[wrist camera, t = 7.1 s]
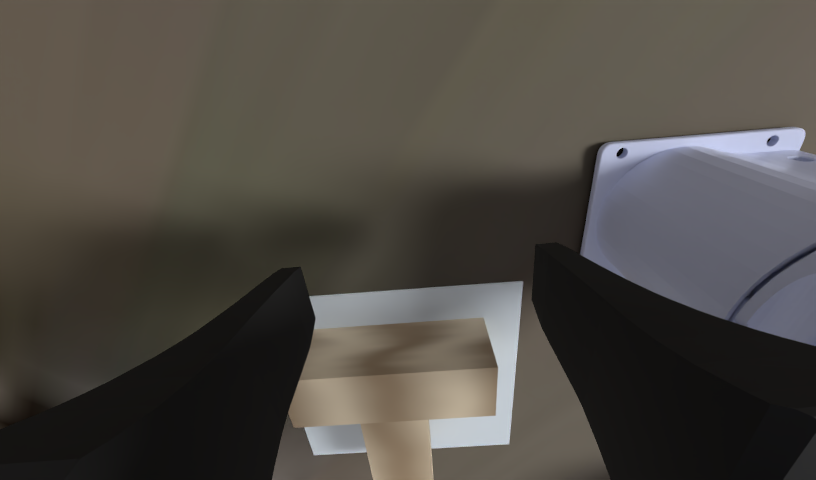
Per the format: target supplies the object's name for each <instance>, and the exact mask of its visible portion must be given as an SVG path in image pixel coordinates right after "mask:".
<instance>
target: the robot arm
mask: <svg viewBox="0 0 816 480" xmlns="http://www.w3.org/2000/svg"><path fill="white" fill-rule="evenodd" d="M770 137H771V139H770V141H769V142H768V143H767V140H768V139H769V138H770ZM804 138H805V130H803V129H802V128H797V127H784V128H772V129H760V130H748V131H736V132H724V133H712V134H700V135H688V136H676V137H664V138H652V139H640V140H628V141H616V142H608V143H605V144H604V145H602V146H601V147H600V148H599V150H598V153H597V159H596V164H595V170H594V176H593V182H592V188H591V194H590V199H589V205H588V211H587V217H586V223H585V229H584V234H583V240H582V246H581V252H580V254H578V253H576V252H574V251H573V250H571V249H569V248H567V247H565V246H563V245H561V244H559V243H546V244H536V246H535V260H534V274H533V288H532V302H533V304H534V307H535V310H536V313H537V316H538V319H539V321H540V324H541V327H542V329H543V331H544V333H545V335H546V337H547V339H548V341H549V343H550V345H551V347H552V348H553V350H554V352H555V354H556V356H557V358H558V360H559V362H560V364H561V366H562V367H563V369H564V371H565V373H566V375H567V377H568V379H569V381H570V383H571V385H572V386H573V388H574V390H575V392H576V394H577V396H578V398H579V401H580V403H581V405H582V407H583V409H584V412H585V414H586V417H587V419H588V422H589V424H590V427H591V429H592V432H593V434H594V437H595V439H596V442H597V444H598V447H599V449H600V452H601V455H602V457H603V460H604V463H605V465H606V468H607V470H608V473H609V476H610V478H611V480H816V155H814V154H810V153H806V152H802V151H799V150H800V147H801V145H802V143H803V141H804ZM621 148H623V152H622V154H621V155H620V156H616V154H617V151H618V150H619V149H621ZM315 319H316V317H315V314H314V311H313V307H312V304H311V301H310V297H309V294H308V290H307V287H306V284H305V280H304V277H303V274H302V270H301V267H293V268H282V269H280V270H278V271H277V272H275V273H274V274H272V275H271V276H270V277H268V278H267V279H266V280H264V281H263V282H262V283H260V284H259V285H258V286H257V287H255V288H254V289H253V290H252V291H250V292H249V293H248V294H246V295H245V296H244V297H242V298H241V299H240V300H239V301H237V302H236V303H235V304H233V305H232V306H231V307H230V308H228V309H227V310H225V311H224V312H223V313H221V314H220V315H218V316H217V317H216V318H214V319H213V320H211V321H210V322H209V323H207V324H206V325H205V326H203V327H202V328H200V329H199V330H197V331H196V332H194V333H193V334H191V335H190V336H188V337H187V338H185V339H184V340H182V341H180V342H179V343H177V344H176V345H174V346H172V347H171V348H169V349H167V350H166V351H164V352H162V353H161V354H159V355H157V356H156V357H154V358H152V359H150V360H148V361H146V362H145V363H143V364H141V365H139V366H137V367H135V368H133V369H132V370H130V371H128V372H126V373H124V374H122V375H120V376H119V377H117V378H115V379H113V380H111V381H109V382H107V383H105V384H103V385H101V386H99V387H97V388H95V389H93V390H90V391H88V392H86V393H84V394H82V395H80V396H78V397H75V398H73V399H71V400H69V401H67V402H65V403H62V404H60V405H58V406H56V407H53V408H51V409H49V410H47V411H44V412H42V413H40V414H37V415H35V416H32V417H30V418H27V419H25V420H22V421H20V422H17V423H15V424H13V425H10V426H8V427H5V428H3V429H0V480H272V476H273V471H274V466H275V462H276V457H277V453H278V449H279V444H280V440H281V436H282V431H283V428H284V424H285V421H286V418H287V414H288V411H289V408H290V405H291V403H292V400H293V397H294V394H295V391H296V388H297V385H298V382H299V379H300V376H301V374H302V371H303V368H304V365H305V362H306V359H307V356H308V353H309V349H310V346H311V341H312V336H313V331H314V325H315Z"/></svg>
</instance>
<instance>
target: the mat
mask: <svg viewBox="0 0 816 480" xmlns="http://www.w3.org/2000/svg"><path fill="white" fill-rule="evenodd" d="M522 289H523V281H513V282H499V283H485V284H471V285H457V286H443V287H429V288H415V289H401V290H387V291H373V292H359V293H345V294H331V295H318V296H309V297H310V301H311V304H312V307H313V311H314V314H315V317H316V319H315V325H314V329H325V328H340V327H354V326H368V325H383V324H397V323H411V322H426V321H440V320H454V319H469V318H484V321H485V324H486V328H487V331H488V335H489V338H490V341H491V345H492V348H493V352H494V355H495V358H496V362H497V365H498V379H497V399H496V416H482V417H466V418H449V419H433V420H429V426H430V437H431V448H449V447H466V446H484V445H501V444H509V440H510V428H511V417H512V405H513V394H514V382H515V370H516V359H517V347H518V336H519V324H520V313H521V301H522ZM304 428H305V431H306V434H307V437H308V440H309V442H310V445H311V448H312V451H313V454H314V455H326V454H343V453H361V452H367V450H366V446H365V442H364V437H363V433H362V429H361V425H360V424H350V425H334V426H317V427H304Z"/></svg>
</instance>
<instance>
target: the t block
mask: <svg viewBox="0 0 816 480" xmlns="http://www.w3.org/2000/svg"><path fill="white" fill-rule="evenodd" d="M497 379H498V365H497V362H496V358H495V355H494V352H493V348H492V345H491V341H490V338H489V335H488V331H487V328H486V324H485V321H484V318H469V319H454V320H440V321H426V322H411V323H397V324H383V325H368V326H354V327H340V328H325V329H314V331H313V336H312V341H311V346H310V349H309V353H308V356H307V359H306V362H305V365H304V368H303V371H302V374H301V376H300V379H299V382H298V385H297V388H296V391H295V394H294V397H293V400H292V403H291V405H290V408H289V411H288V413H289V416H290V419H291V421H292V424H293V427H294V428H301V427H317V426H334V425H350V424H360V425H361V429H362V433H363V437H364V442H365V446H366V450H367V455H368V459H369V463H370V468H371V472H372V476H373V480H433V467H432V452H431V437H430V426H429V420H433V419H449V418H466V417H482V416H496V399H497Z"/></svg>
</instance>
